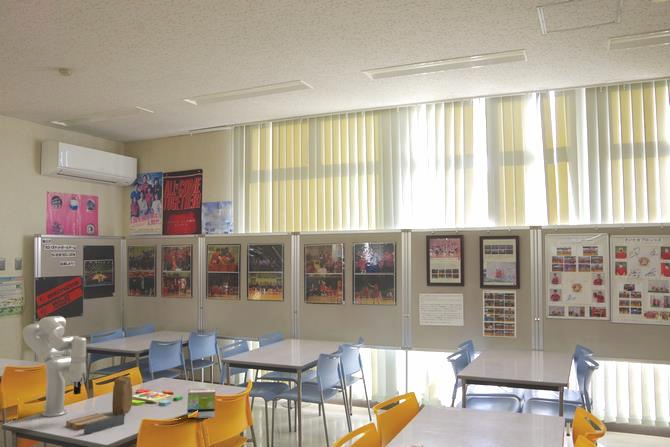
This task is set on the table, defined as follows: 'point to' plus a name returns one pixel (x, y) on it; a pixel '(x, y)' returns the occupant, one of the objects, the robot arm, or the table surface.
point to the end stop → (103, 423)
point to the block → (122, 395)
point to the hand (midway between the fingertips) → (77, 393)
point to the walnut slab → (83, 421)
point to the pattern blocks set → (153, 397)
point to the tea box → (201, 402)
